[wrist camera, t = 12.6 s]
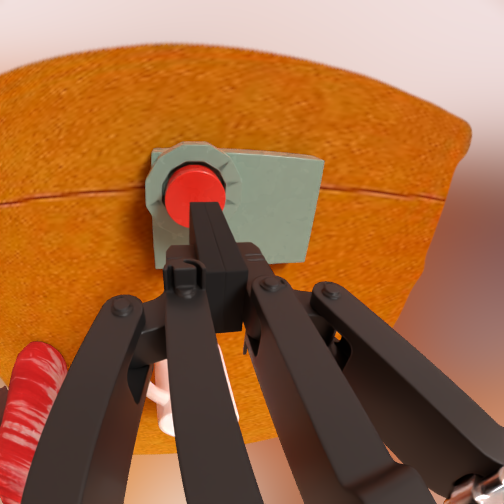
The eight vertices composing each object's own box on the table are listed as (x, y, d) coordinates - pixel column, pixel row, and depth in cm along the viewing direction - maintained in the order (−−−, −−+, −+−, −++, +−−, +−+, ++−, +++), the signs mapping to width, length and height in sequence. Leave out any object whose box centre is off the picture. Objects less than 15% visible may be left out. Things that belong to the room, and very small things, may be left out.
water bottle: (11, 362, 26) (-13, 513, 6) (-5, 324, 23) (-49, 496, 2) (80, 378, 31) (79, 546, 10) (71, 341, 27) (57, 544, 6)
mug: (116, 342, 29) (110, 418, 20) (155, 301, 27) (156, 383, 19) (192, 377, 35) (204, 443, 27) (233, 345, 34) (255, 415, 25)
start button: (165, 217, 20) (165, 229, 18) (165, 164, 18) (165, 171, 16) (219, 216, 21) (223, 228, 19) (223, 164, 19) (228, 171, 17)
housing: (153, 256, 25) (151, 281, 22) (150, 138, 20) (144, 145, 16) (296, 251, 29) (312, 272, 26) (314, 147, 24) (337, 156, 20)
